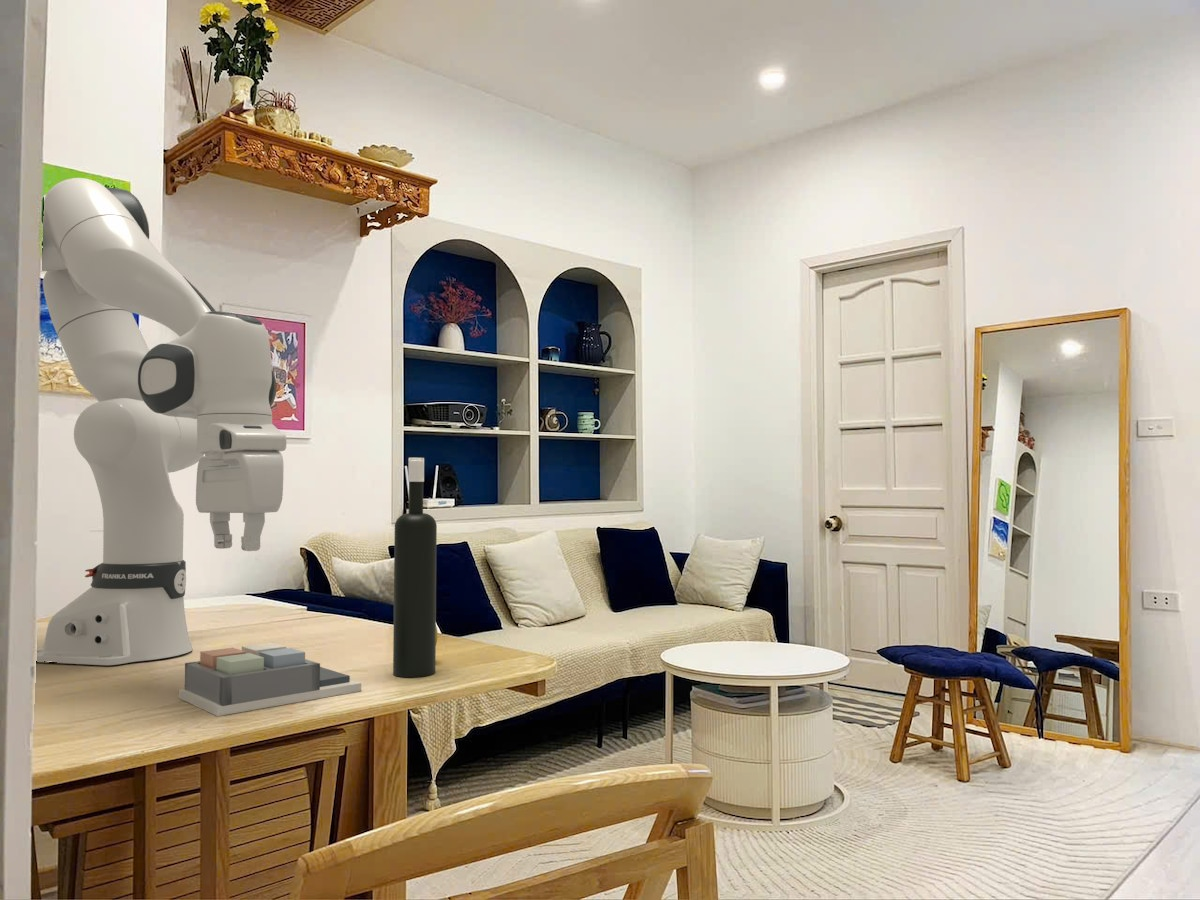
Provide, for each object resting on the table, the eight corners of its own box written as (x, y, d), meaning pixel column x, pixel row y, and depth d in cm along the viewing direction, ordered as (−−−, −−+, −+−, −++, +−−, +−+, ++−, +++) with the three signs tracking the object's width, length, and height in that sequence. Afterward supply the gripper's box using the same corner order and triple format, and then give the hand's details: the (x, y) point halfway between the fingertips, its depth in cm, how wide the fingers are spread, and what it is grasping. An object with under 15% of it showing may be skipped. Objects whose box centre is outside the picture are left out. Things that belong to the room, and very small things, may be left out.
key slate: (273, 674, 108) (273, 656, 108) (259, 669, 111) (259, 651, 111) (304, 670, 110) (305, 652, 111) (290, 665, 113) (290, 647, 113)
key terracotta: (212, 674, 108) (213, 656, 108) (200, 669, 111) (200, 651, 111) (245, 669, 111) (246, 651, 111) (232, 665, 113) (232, 647, 114)
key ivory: (254, 668, 111) (255, 650, 112) (241, 663, 114) (241, 646, 114) (285, 664, 114) (286, 646, 114) (272, 659, 117) (272, 642, 117)
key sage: (229, 681, 104) (230, 662, 104) (216, 676, 107) (216, 657, 107) (263, 676, 107) (263, 657, 107) (249, 671, 110) (249, 653, 110)
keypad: (217, 716, 102) (218, 678, 102) (179, 698, 110) (179, 663, 110) (361, 690, 114) (361, 657, 114) (316, 676, 123) (316, 645, 123)
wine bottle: (433, 668, 129) (435, 458, 130) (437, 676, 123) (439, 457, 124) (392, 670, 127) (394, 458, 128) (394, 678, 121) (396, 456, 123)
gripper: (182, 443, 119) (183, 548, 118) (239, 434, 104) (240, 554, 103) (231, 444, 123) (232, 545, 123) (292, 435, 108) (294, 550, 107)
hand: (236, 549), depth 113 cm, fingers open, 8 cm apart
